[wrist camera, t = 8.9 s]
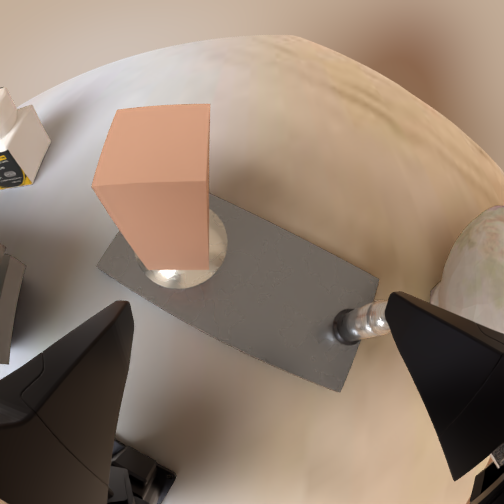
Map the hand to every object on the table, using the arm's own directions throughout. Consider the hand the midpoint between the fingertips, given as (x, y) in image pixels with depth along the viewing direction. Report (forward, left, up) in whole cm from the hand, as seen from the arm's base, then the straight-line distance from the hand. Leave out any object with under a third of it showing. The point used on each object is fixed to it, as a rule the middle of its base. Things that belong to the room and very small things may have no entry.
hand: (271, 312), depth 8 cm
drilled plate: (+5, +2, -14) cm, 15 cm away
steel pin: (+5, -8, -13) cm, 16 cm away
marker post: (+5, +8, -12) cm, 15 cm away
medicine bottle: (+4, +33, -14) cm, 36 cm away
